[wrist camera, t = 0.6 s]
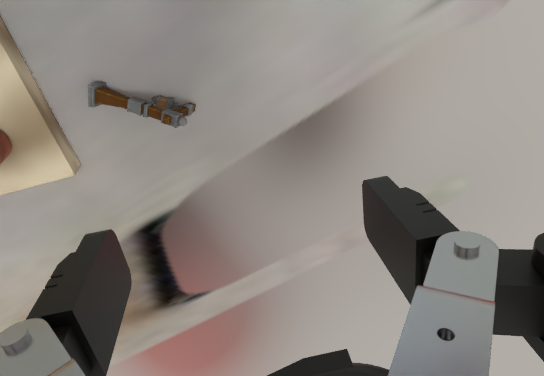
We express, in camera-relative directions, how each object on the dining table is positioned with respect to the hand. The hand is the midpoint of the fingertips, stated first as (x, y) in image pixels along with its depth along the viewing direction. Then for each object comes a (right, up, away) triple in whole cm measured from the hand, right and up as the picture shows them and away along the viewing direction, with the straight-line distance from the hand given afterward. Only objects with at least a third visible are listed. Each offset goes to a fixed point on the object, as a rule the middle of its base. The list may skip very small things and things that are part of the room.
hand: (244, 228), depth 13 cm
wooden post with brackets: (-10, +9, +20) cm, 24 cm away
